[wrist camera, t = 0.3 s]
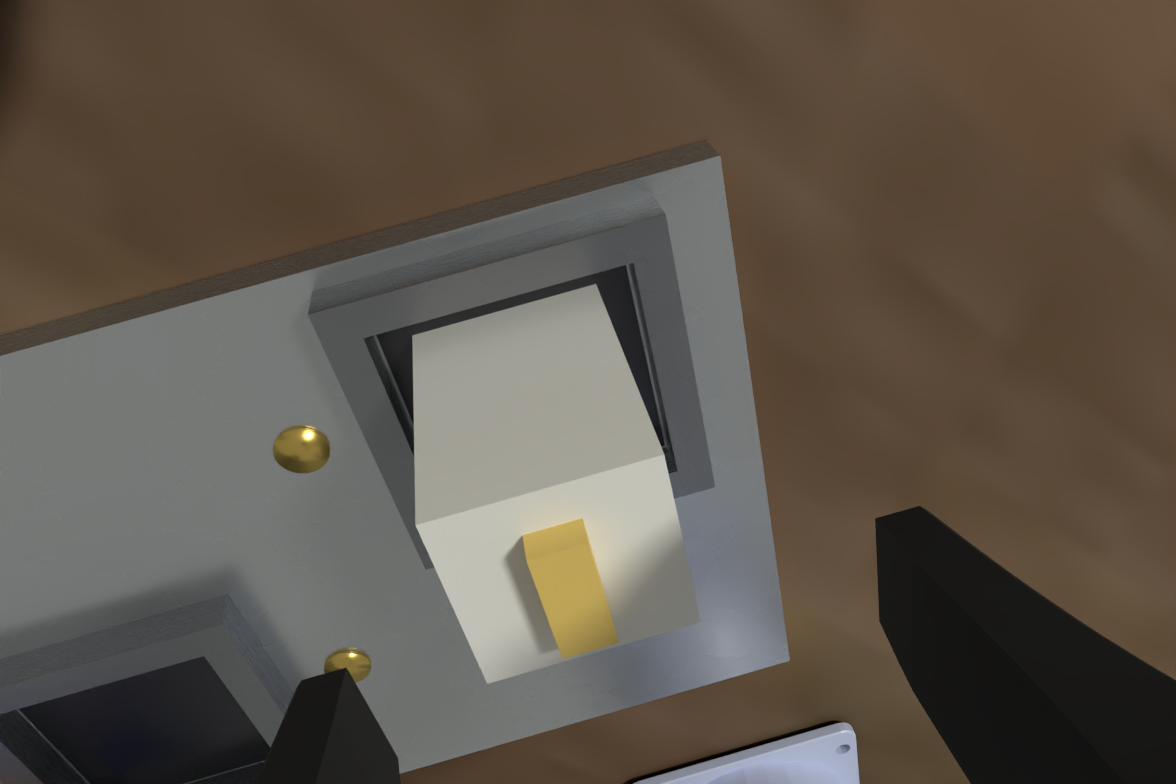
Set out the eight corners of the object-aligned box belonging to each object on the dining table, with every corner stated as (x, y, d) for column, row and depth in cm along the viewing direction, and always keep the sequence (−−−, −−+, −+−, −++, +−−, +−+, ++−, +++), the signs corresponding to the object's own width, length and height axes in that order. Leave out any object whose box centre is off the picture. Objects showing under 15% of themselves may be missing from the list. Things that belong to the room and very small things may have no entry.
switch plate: (778, 635, 28) (802, 687, 26) (84, 835, 27) (64, 901, 26) (706, 140, 19) (735, 172, 17) (-334, 428, 18) (-407, 491, 17)
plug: (631, 430, 21) (710, 648, 16) (467, 477, 21) (489, 711, 16) (595, 284, 19) (674, 478, 13) (412, 335, 19) (416, 551, 13)
